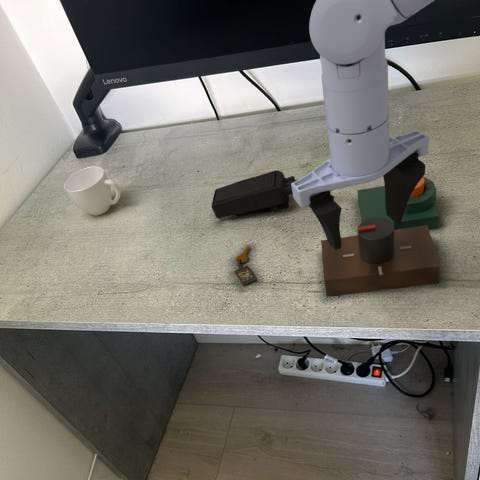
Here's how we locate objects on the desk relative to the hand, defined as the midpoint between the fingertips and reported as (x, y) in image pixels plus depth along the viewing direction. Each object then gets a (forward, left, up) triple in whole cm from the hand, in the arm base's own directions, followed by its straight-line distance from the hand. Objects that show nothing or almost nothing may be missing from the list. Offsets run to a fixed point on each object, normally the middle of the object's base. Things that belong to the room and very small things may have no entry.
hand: (364, 231), depth 56 cm
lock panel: (-2, -4, -10) cm, 11 cm away
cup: (+45, -30, -10) cm, 55 cm away
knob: (-2, -4, -7) cm, 8 cm away
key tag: (+16, -8, -10) cm, 21 cm away
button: (-8, -15, -7) cm, 18 cm away
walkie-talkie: (+12, -22, -10) cm, 27 cm away
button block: (-6, -15, -10) cm, 19 cm away
